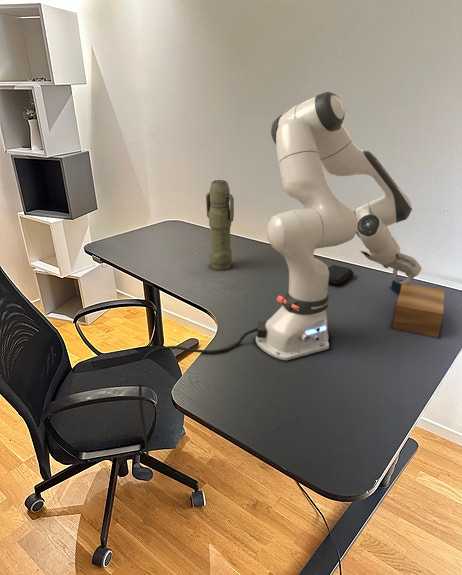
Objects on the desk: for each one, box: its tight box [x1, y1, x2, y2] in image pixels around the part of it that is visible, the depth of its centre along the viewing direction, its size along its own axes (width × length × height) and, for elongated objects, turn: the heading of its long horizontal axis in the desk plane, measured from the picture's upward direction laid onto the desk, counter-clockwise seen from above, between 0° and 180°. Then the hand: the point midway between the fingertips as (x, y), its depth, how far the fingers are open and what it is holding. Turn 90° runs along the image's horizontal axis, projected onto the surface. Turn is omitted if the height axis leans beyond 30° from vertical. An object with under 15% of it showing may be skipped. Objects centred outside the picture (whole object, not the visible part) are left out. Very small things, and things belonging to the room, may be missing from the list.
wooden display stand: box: [392, 283, 446, 338], centre depth 139 cm, size 18×13×8 cm
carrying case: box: [327, 264, 355, 287], centre depth 169 cm, size 11×3×15 cm
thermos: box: [205, 179, 235, 271], centre depth 174 cm, size 9×12×35 cm
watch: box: [390, 269, 416, 295], centre depth 157 cm, size 6×8×11 cm
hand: (398, 270), depth 155 cm, fingers open, 8 cm apart
